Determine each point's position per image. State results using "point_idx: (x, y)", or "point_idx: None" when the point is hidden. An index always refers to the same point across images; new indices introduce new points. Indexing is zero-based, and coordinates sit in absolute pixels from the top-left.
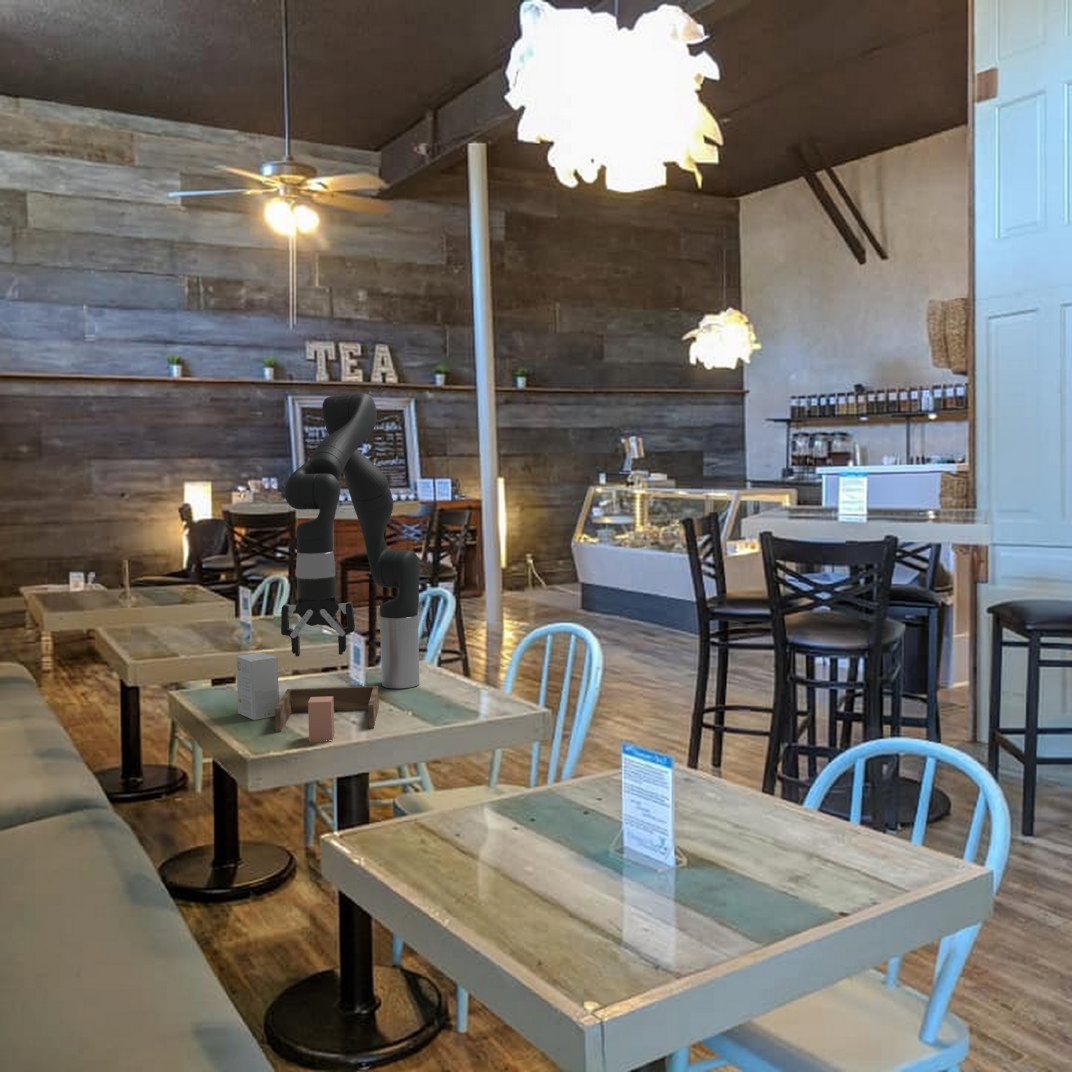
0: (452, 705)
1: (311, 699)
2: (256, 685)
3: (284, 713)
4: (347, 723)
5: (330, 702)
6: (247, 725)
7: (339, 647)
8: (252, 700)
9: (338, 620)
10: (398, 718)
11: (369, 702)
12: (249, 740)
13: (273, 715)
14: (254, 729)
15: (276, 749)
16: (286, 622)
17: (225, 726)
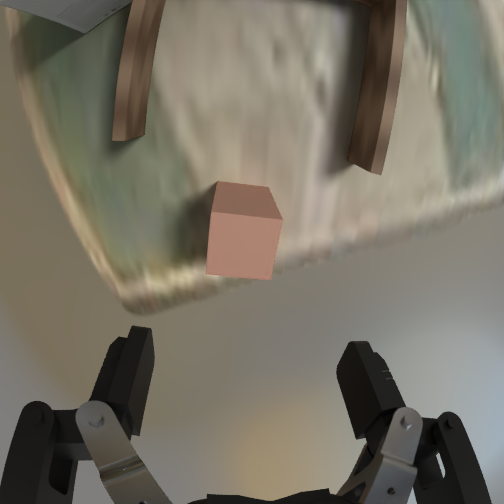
0: (492, 69)
1: (214, 242)
2: (51, 9)
3: (143, 69)
4: (305, 97)
5: (269, 279)
6: (74, 71)
7: (347, 396)
8: (62, 24)
9: (414, 475)
10: (412, 104)
11: (377, 147)
12: (90, 189)
13: (126, 4)
14: (88, 104)
15: (152, 262)
16: (67, 501)
17: (38, 78)
